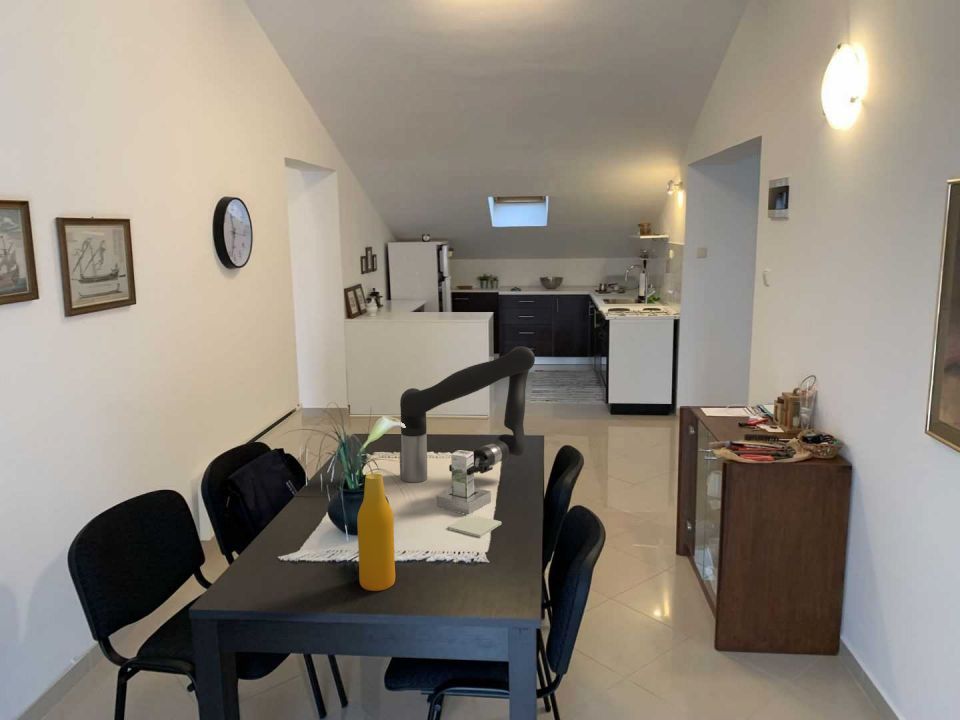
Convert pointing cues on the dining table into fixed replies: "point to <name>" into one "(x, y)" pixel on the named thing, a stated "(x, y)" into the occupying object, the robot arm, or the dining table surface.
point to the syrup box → (462, 473)
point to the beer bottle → (375, 537)
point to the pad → (474, 525)
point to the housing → (463, 501)
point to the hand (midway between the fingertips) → (459, 470)
